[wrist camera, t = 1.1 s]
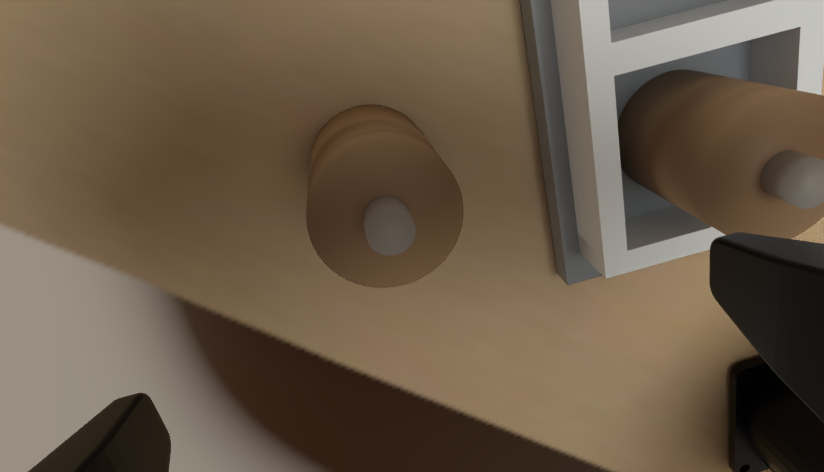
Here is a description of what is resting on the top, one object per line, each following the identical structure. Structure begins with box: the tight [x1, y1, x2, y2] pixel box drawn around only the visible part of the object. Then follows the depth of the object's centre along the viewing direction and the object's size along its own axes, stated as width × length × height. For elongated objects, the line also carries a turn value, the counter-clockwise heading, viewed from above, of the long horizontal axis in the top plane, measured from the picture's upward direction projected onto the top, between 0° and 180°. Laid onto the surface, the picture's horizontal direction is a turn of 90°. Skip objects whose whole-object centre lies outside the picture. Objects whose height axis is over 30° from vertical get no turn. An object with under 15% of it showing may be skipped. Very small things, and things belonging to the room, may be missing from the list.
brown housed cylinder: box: [618, 69, 824, 239], centre depth 16 cm, size 4×4×6 cm
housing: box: [520, 0, 824, 285], centre depth 17 cm, size 16×8×3 cm, turn 13°
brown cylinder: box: [307, 105, 463, 288], centre depth 16 cm, size 4×4×6 cm
